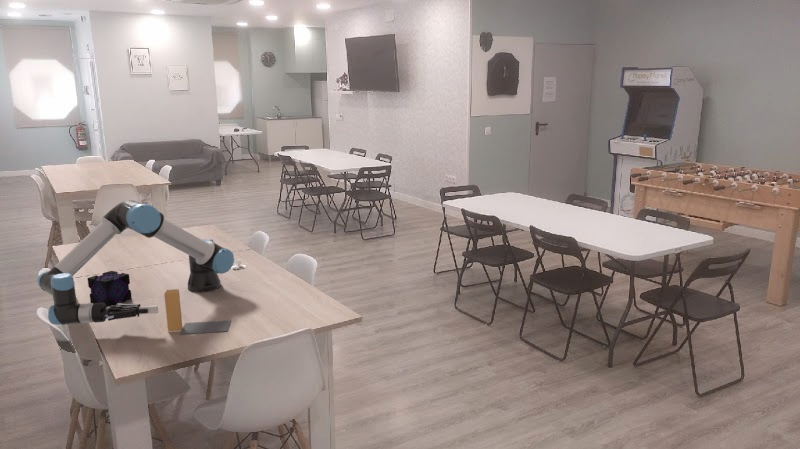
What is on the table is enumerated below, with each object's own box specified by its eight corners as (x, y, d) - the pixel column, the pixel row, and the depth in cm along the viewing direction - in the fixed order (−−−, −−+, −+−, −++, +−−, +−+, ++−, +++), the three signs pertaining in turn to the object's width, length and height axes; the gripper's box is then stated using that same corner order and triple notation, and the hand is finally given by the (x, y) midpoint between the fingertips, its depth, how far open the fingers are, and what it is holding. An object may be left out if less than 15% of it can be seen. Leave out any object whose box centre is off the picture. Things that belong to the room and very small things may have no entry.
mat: (179, 334, 234) (179, 333, 234) (185, 323, 244) (185, 322, 244) (227, 331, 236) (227, 330, 236) (230, 321, 247) (230, 320, 247)
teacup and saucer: (235, 271, 315) (235, 263, 314) (226, 268, 320) (225, 261, 319) (249, 267, 322) (248, 260, 321) (239, 264, 327) (239, 257, 326)
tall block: (168, 332, 236) (164, 293, 233) (170, 327, 241) (166, 289, 237) (180, 331, 237) (176, 293, 233) (182, 327, 241) (178, 289, 238)
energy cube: (114, 295, 279) (111, 270, 276) (131, 299, 274) (128, 274, 271) (90, 303, 269) (87, 278, 266) (108, 307, 263) (105, 281, 261)
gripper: (100, 315, 240) (162, 312, 243) (88, 328, 227) (154, 324, 230) (98, 297, 238) (160, 294, 241) (86, 309, 226) (152, 306, 229)
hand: (157, 309), depth 236 cm, fingers closed
